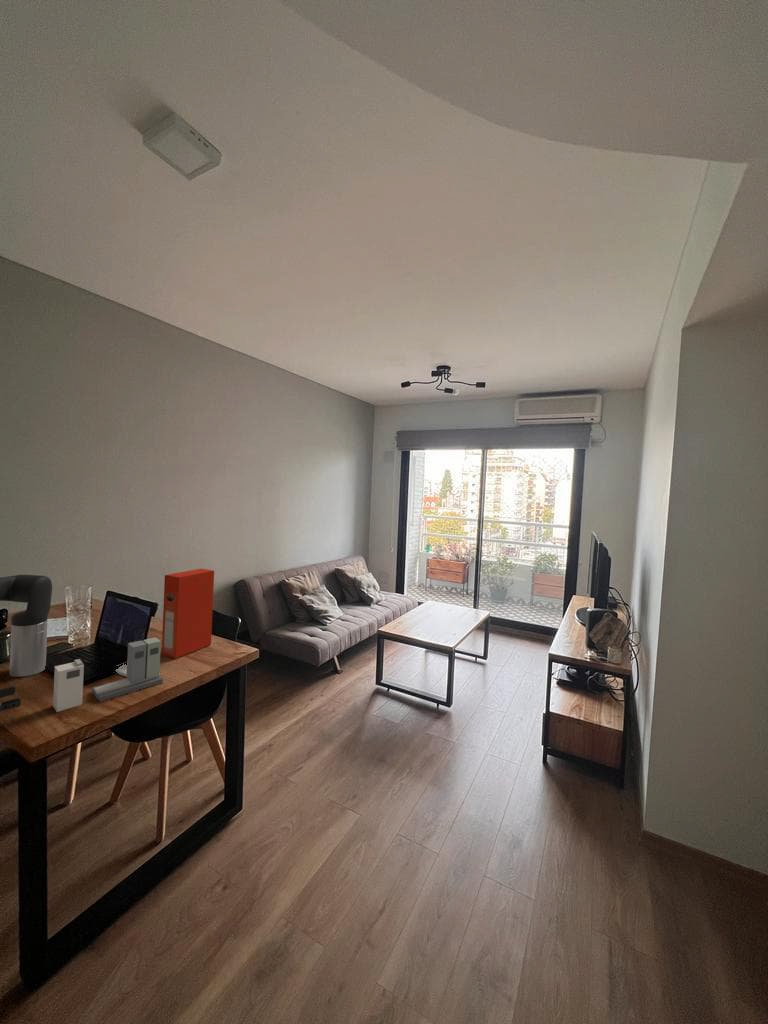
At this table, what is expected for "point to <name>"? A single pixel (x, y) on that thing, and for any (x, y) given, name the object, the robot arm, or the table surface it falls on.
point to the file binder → (187, 612)
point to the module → (68, 685)
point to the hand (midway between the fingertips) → (17, 695)
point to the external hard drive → (122, 670)
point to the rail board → (135, 670)
